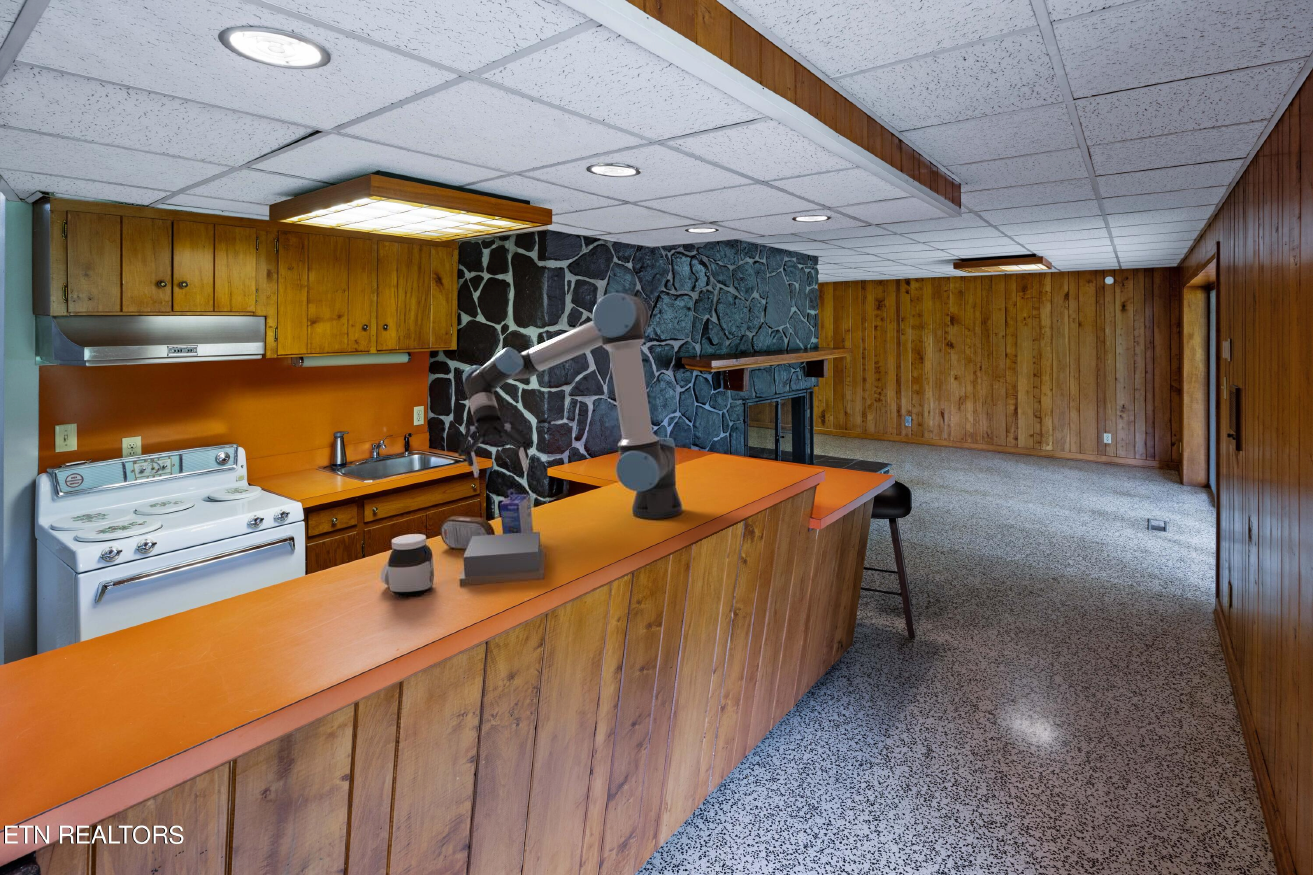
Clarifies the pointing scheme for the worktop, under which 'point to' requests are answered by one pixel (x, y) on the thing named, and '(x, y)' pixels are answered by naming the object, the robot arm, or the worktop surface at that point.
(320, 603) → the worktop surface
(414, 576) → the spread jar
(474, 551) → the block
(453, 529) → the tin
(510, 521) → the ink cartridge box
